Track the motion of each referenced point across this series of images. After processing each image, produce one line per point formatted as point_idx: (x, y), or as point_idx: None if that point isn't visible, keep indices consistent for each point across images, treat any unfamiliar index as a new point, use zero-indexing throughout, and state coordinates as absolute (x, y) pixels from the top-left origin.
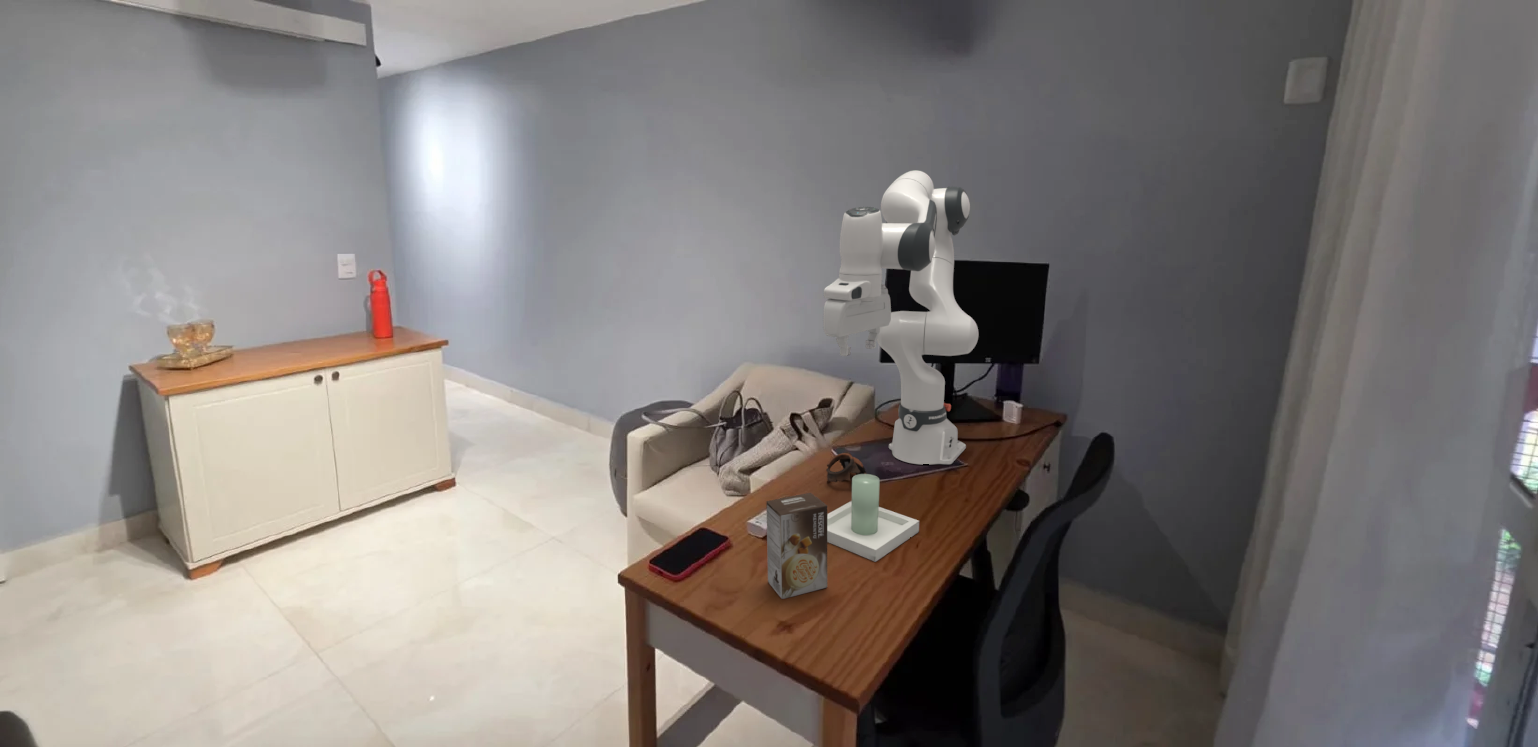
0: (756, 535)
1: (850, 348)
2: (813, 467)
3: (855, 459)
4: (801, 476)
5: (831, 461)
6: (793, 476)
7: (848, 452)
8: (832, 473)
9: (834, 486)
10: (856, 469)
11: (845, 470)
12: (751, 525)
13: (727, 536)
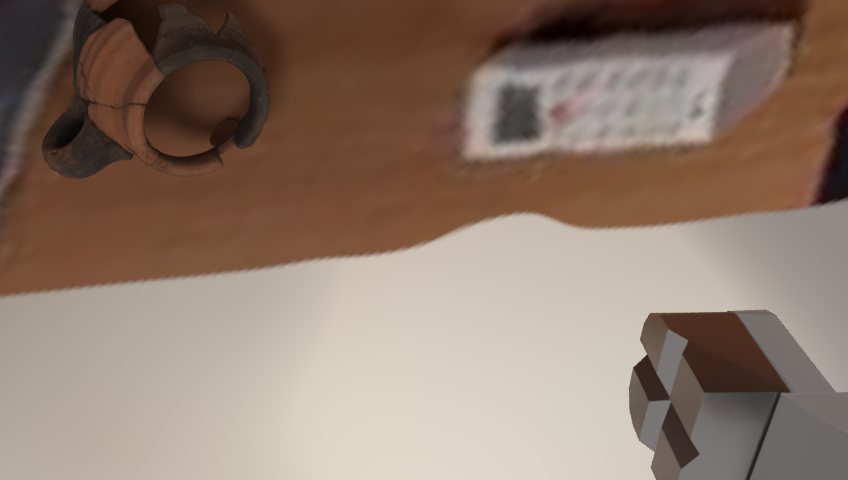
0: (788, 48)
1: (707, 376)
2: (159, 253)
3: (124, 69)
4: (267, 234)
5: (197, 162)
6: (290, 255)
7: (70, 152)
8: (268, 99)
9: None
10: (178, 19)
11: (237, 50)
12: (729, 110)
13: (835, 118)
